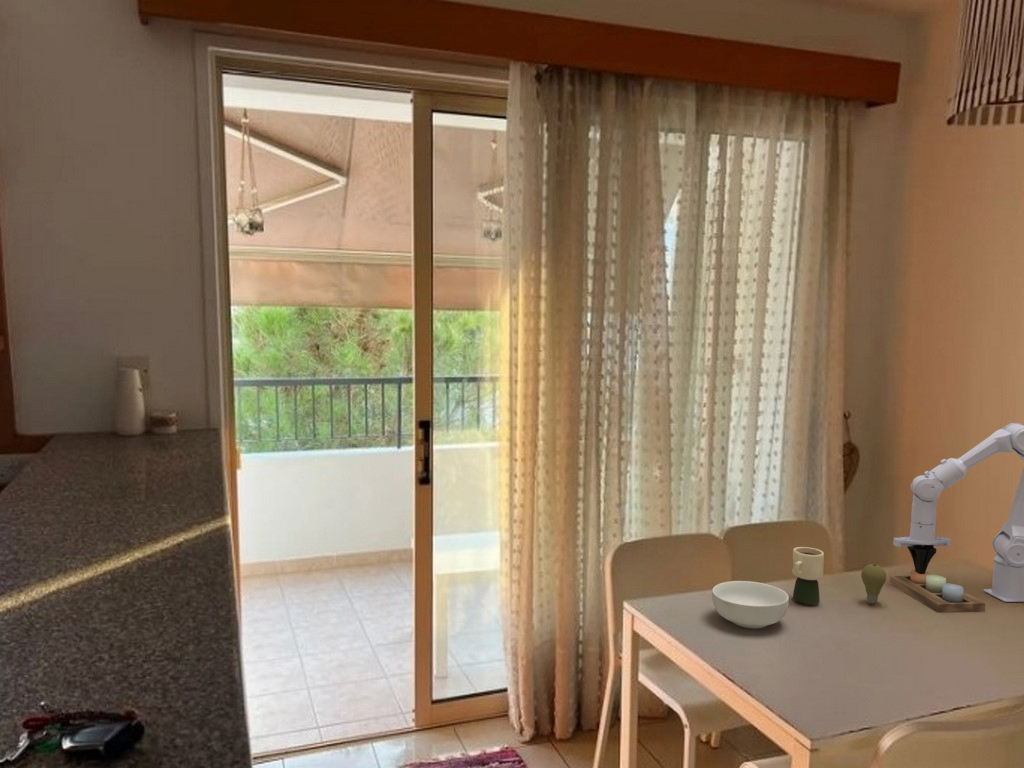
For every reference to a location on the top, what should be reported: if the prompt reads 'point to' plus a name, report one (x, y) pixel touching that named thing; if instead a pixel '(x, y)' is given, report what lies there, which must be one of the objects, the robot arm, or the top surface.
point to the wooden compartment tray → (936, 597)
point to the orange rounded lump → (918, 577)
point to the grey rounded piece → (952, 593)
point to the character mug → (807, 574)
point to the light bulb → (873, 581)
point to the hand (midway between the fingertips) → (920, 572)
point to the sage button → (935, 583)
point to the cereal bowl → (750, 603)
